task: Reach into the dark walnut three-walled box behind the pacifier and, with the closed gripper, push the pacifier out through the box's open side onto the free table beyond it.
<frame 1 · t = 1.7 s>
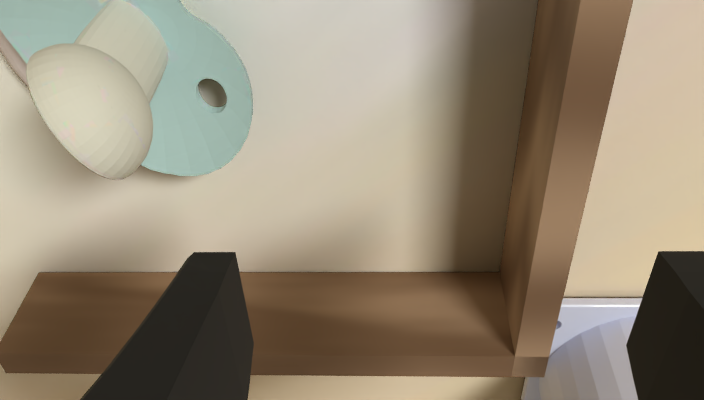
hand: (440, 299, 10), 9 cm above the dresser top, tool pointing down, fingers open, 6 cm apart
open box: (242, 28, 17), on the dresser top
pacifier: (122, 30, 18), on the dresser top
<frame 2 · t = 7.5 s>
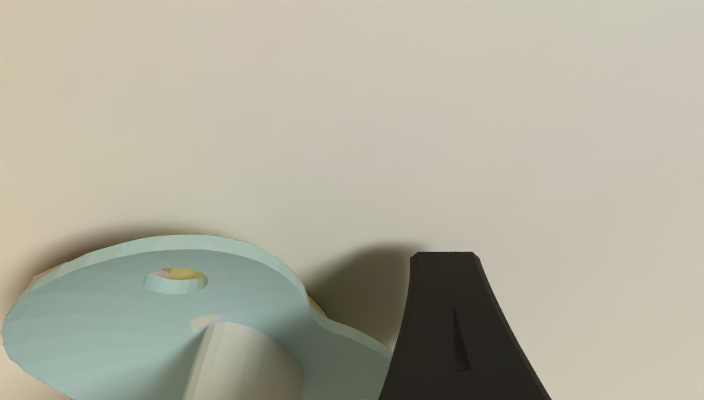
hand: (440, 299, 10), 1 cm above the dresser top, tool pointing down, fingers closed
pacifier: (226, 323, 12), on the dresser top, touching gripper
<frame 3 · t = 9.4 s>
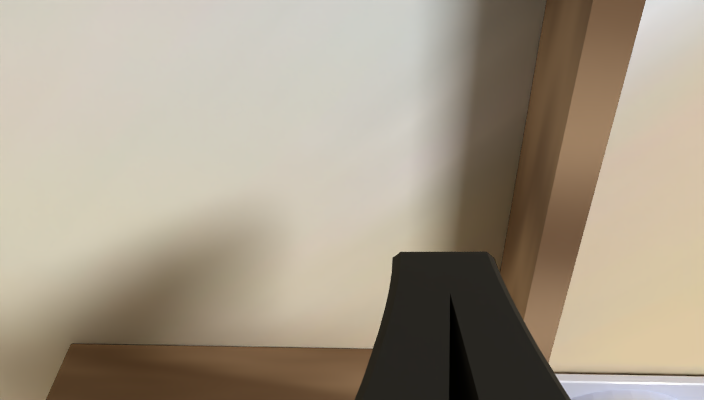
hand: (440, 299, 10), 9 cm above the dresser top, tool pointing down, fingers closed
open box: (265, 156, 20), on the dresser top
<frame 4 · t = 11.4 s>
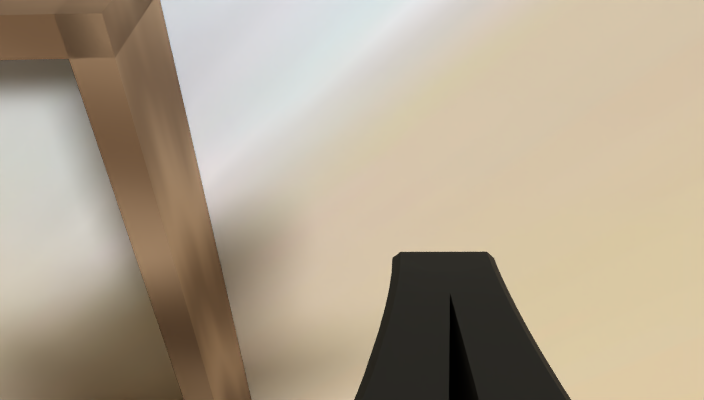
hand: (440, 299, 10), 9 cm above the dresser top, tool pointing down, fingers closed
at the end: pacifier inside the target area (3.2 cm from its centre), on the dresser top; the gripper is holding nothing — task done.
